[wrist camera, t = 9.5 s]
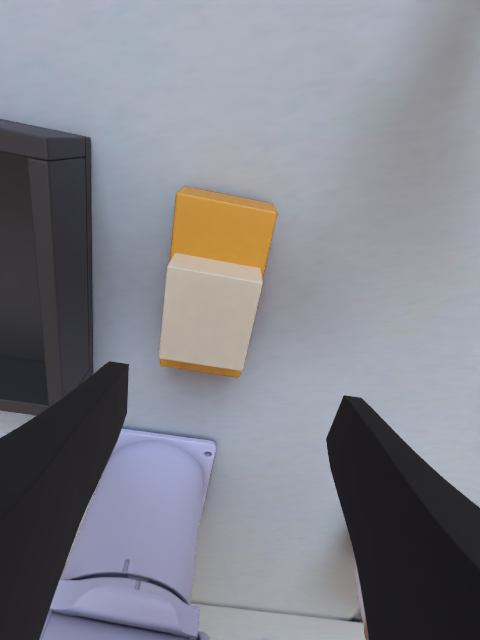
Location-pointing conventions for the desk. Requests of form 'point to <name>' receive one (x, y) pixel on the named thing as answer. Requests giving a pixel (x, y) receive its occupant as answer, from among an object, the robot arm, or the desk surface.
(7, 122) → the storage box
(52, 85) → the desk surface
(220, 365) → the two-tone block
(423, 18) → the desk surface
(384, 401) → the desk surface
